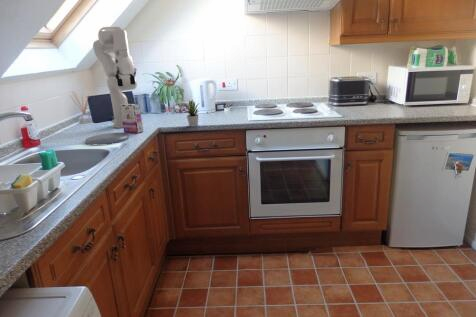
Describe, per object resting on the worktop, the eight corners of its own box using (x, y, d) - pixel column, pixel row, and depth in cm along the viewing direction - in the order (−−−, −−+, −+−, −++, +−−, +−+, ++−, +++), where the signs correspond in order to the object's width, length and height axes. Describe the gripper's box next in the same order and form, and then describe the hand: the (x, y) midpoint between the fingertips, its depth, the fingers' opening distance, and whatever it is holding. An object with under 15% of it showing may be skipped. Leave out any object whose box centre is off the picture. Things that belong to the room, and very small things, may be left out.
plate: (76, 143, 188) (76, 140, 188) (108, 134, 207) (108, 131, 206) (106, 146, 178) (105, 143, 178) (137, 136, 197) (136, 133, 196)
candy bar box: (144, 131, 207) (140, 103, 203) (138, 133, 203) (133, 105, 198) (129, 130, 213) (125, 103, 208) (123, 132, 208) (119, 104, 204)
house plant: (178, 124, 222) (175, 98, 217) (199, 121, 227) (196, 96, 222) (184, 128, 209) (181, 100, 204) (206, 125, 214) (204, 98, 210)
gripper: (115, 53, 186) (120, 86, 191) (138, 52, 201) (142, 83, 205) (105, 54, 189) (110, 87, 194) (128, 53, 204) (132, 83, 209)
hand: (126, 85), depth 200 cm, fingers open, 9 cm apart
